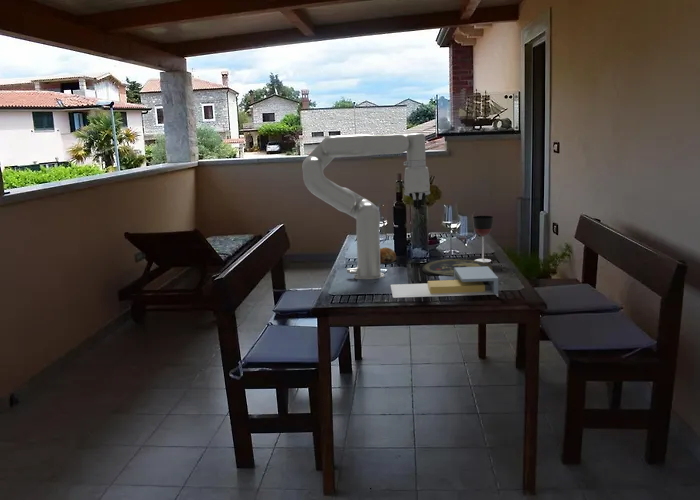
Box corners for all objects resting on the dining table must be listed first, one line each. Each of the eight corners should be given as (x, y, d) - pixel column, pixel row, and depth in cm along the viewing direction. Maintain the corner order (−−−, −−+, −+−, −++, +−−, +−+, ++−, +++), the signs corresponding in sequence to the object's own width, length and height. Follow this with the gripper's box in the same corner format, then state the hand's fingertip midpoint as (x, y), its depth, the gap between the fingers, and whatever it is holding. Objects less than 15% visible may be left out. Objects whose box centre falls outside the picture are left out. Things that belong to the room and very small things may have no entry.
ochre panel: (430, 293, 224) (430, 287, 223) (427, 287, 232) (427, 280, 232) (484, 291, 223) (484, 285, 223) (479, 285, 232) (479, 279, 232)
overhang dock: (393, 300, 220) (392, 281, 219) (390, 287, 238) (390, 269, 237) (498, 296, 220) (498, 278, 218) (487, 283, 237) (488, 266, 236)
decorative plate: (419, 274, 249) (425, 258, 278) (419, 279, 250) (425, 262, 278) (494, 276, 243) (492, 259, 272) (494, 280, 244) (492, 263, 272)
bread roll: (397, 266, 287) (397, 250, 289) (393, 262, 277) (394, 245, 279) (376, 266, 289) (377, 250, 291) (372, 261, 279) (373, 245, 281)
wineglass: (493, 262, 272) (493, 218, 268) (473, 262, 273) (473, 218, 269) (492, 258, 279) (492, 215, 275) (472, 258, 281) (473, 215, 277)
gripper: (397, 165, 244) (399, 211, 247) (435, 164, 242) (436, 209, 246) (397, 164, 251) (399, 208, 255) (434, 162, 250) (435, 207, 253)
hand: (417, 208), depth 250 cm, fingers closed
